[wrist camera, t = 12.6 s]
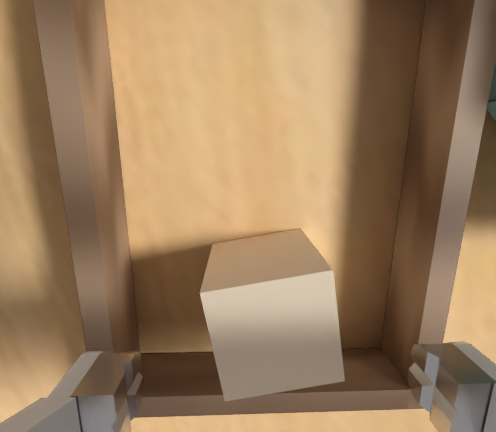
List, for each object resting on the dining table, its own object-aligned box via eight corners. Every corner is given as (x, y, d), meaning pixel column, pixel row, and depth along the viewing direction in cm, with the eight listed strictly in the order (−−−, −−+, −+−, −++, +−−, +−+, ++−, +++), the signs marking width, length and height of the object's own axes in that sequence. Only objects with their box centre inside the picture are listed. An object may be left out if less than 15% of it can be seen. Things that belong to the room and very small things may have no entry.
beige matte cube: (212, 243, 13) (199, 292, 8) (300, 228, 13) (333, 269, 8) (229, 320, 14) (224, 401, 9) (310, 306, 14) (344, 381, 9)
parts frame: (68, -66, 10) (12, -136, 7) (460, -55, 10) (529, -118, 8) (121, 371, 14) (96, 418, 12) (397, 364, 14) (430, 408, 12)
